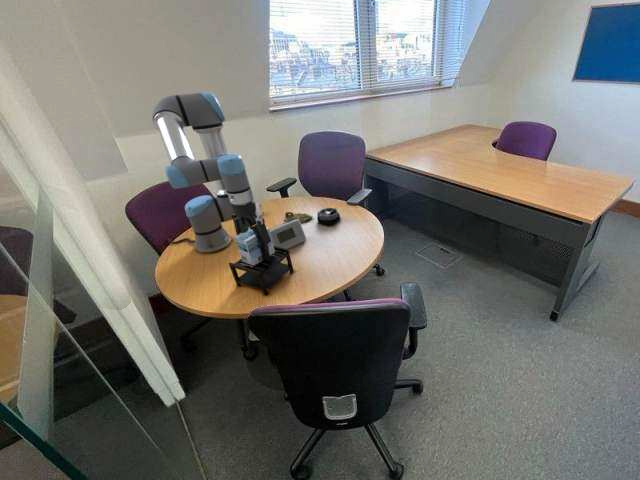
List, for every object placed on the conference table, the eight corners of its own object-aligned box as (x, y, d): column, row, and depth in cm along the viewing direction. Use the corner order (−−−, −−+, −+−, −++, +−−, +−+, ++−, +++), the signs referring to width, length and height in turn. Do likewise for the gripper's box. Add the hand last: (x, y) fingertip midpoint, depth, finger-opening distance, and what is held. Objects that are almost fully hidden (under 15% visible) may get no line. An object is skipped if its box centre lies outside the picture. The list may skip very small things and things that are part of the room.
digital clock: (275, 255, 138) (269, 234, 132) (269, 246, 145) (264, 226, 139) (309, 243, 145) (305, 223, 140) (302, 235, 152) (298, 216, 146)
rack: (237, 286, 121) (228, 263, 115) (266, 263, 133) (259, 242, 127) (266, 296, 115) (258, 272, 109) (294, 271, 127) (288, 249, 121)
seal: (314, 216, 171) (287, 217, 172) (313, 208, 169) (286, 209, 170) (310, 223, 163) (282, 223, 163) (309, 214, 161) (280, 215, 161)
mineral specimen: (253, 212, 177) (250, 202, 174) (265, 212, 177) (262, 202, 173) (242, 222, 167) (239, 212, 163) (255, 222, 166) (252, 212, 163)
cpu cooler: (341, 209, 162) (329, 217, 155) (342, 219, 165) (331, 227, 158) (326, 206, 167) (313, 213, 159) (327, 215, 170) (315, 223, 162)
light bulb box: (253, 266, 113) (245, 241, 107) (241, 261, 116) (233, 237, 110) (276, 252, 121) (269, 228, 115) (264, 247, 124) (257, 224, 118)
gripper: (212, 201, 107) (232, 255, 119) (256, 210, 99) (272, 267, 112) (230, 193, 113) (247, 245, 125) (272, 201, 105) (286, 256, 117)
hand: (259, 256), depth 118 cm, fingers closed on light bulb box, 7 cm apart
